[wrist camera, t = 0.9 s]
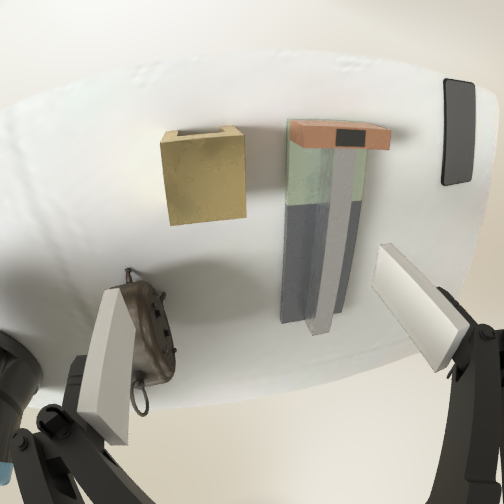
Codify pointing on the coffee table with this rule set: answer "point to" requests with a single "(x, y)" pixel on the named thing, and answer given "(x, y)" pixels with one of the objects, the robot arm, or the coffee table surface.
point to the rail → (323, 214)
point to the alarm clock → (148, 337)
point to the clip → (204, 176)
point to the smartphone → (458, 131)
